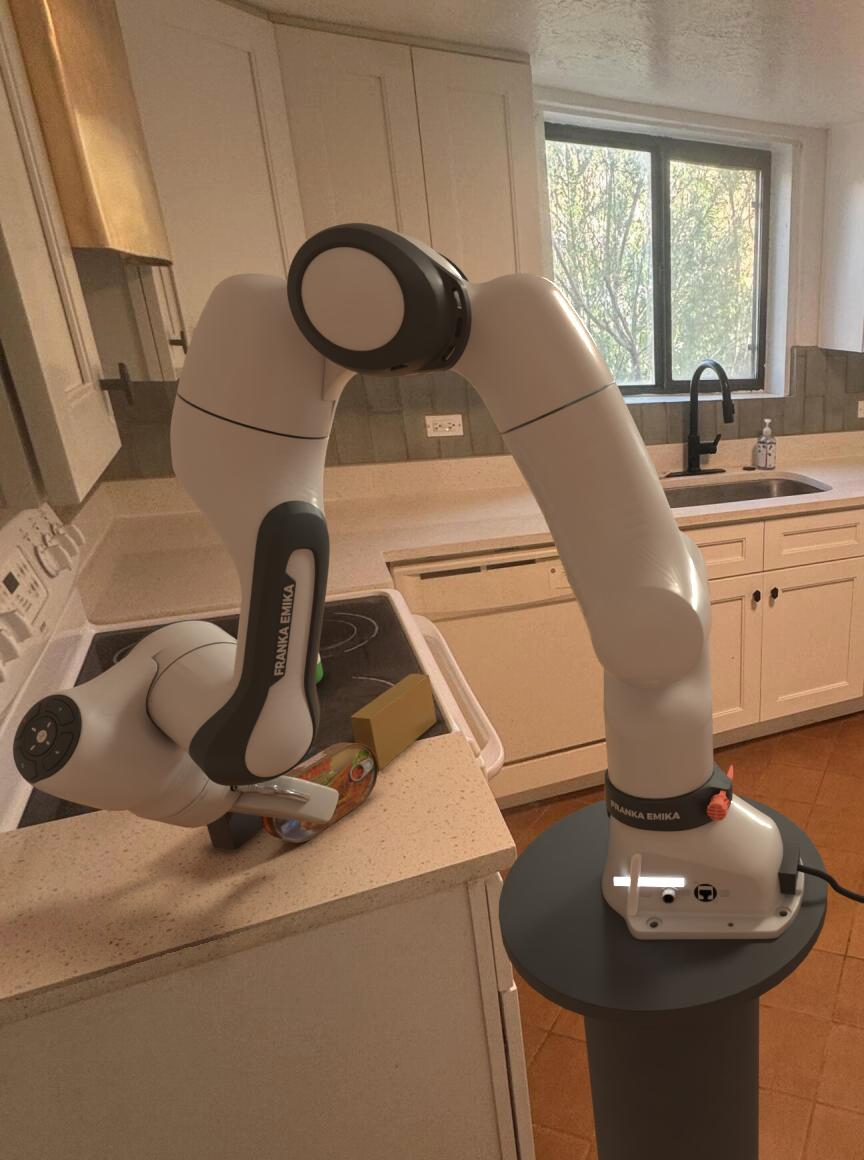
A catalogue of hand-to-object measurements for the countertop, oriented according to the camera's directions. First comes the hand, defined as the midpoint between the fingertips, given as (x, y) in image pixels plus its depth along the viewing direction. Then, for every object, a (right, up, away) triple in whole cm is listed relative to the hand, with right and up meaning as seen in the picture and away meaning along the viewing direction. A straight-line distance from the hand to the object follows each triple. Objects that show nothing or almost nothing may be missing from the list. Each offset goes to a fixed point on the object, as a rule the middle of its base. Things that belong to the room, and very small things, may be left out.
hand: (286, 806), depth 90 cm
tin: (+1, -3, +7) cm, 8 cm away
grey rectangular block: (-7, -3, +8) cm, 11 cm away
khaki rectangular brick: (+2, +3, +24) cm, 24 cm away
